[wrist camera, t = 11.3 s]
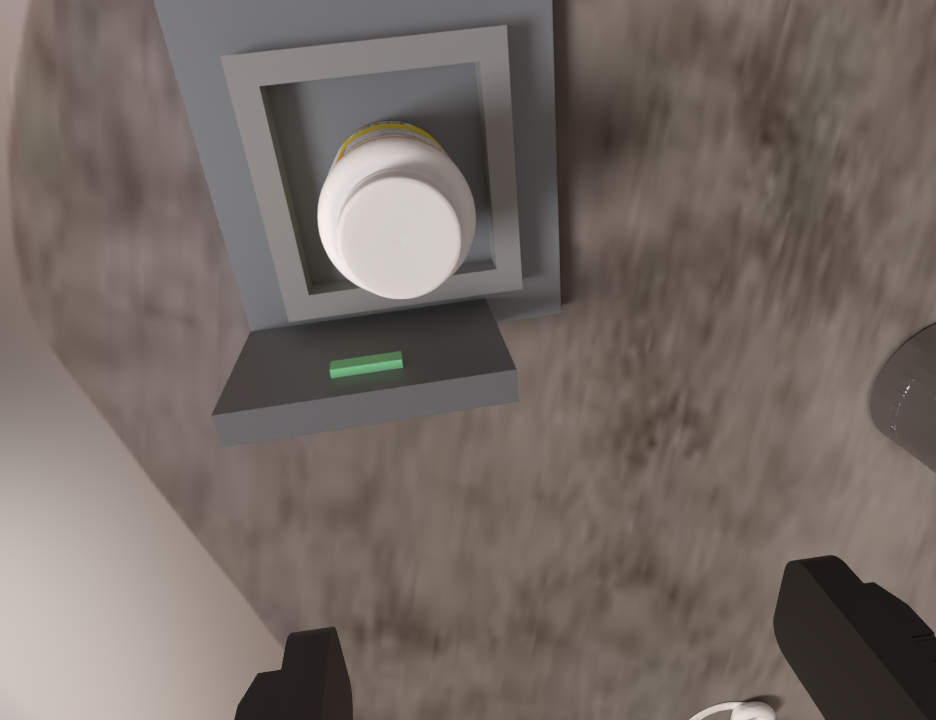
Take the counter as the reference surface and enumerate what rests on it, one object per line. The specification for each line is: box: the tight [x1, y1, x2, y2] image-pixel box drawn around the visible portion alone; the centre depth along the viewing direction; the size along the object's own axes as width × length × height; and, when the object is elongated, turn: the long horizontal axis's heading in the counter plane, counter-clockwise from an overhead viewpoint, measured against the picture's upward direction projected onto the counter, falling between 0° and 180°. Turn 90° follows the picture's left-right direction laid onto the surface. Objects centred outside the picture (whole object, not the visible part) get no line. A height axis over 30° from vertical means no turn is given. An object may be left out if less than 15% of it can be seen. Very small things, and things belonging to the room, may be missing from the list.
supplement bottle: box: [317, 120, 476, 299], centre depth 23 cm, size 6×6×10 cm
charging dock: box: [153, 0, 561, 447], centre depth 25 cm, size 16×16×9 cm
